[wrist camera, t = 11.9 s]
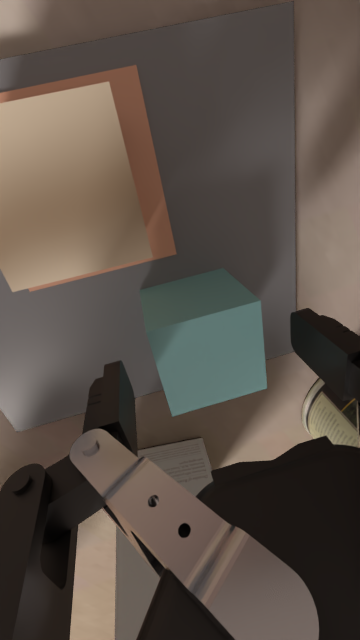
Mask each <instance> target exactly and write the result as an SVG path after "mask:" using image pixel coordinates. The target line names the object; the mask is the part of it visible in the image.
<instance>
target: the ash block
mask: <svg viewBox="0 0 360 640" xmlns="http://www.w3.org/2000/svg"><path fill="white" fill-rule="evenodd" d="M152 257H153V256H152V252H151V248H150V244H149V240H148V236H147V232H146V228H145V224H144V220H143V216H142V212H141V208H140V204H139V200H138V196H137V192H136V188H135V184H134V180H133V176H132V172H131V168H130V164H129V160H128V156H127V152H126V148H125V144H124V140H123V136H122V132H121V128H120V124H119V120H118V116H117V112H116V108H115V104H114V100H113V96H112V92H111V88H110V84H109V82H104V83H99V84H94V85H89V86H84V87H79V88H74V89H69V90H64V91H59V92H54V93H49V94H44V95H39V96H34V97H29V98H24V99H19V100H14V101H9V102H4V103H0V269H1V271H2V273H3V275H4V277H5V279H6V281H7V282H8V284H9V286H10V288H11V290H12V292H16V291H20V290H24V289H28V288H32V287H36V286H40V285H44V284H48V283H52V282H56V281H60V280H64V279H68V278H72V277H76V276H80V275H84V274H88V273H92V272H96V271H100V270H104V269H108V268H112V267H116V266H120V265H124V264H128V263H132V262H136V261H140V260H144V259H148V258H152Z"/></svg>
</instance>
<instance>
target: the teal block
mask: <svg viewBox="0 0 360 640" xmlns="http://www.w3.org/2000/svg"><path fill="white" fill-rule="evenodd" d="M139 291H140V297H141V304H142V310H143V316H144V323H145V329H146V334H147V337H148V340H149V343H150V347H151V350H152V353H153V356H154V360H155V363H156V366H157V369H158V372H159V376H160V379H161V382H162V385H163V389H164V392H165V395H166V398H167V402H168V405H169V408H170V411H171V415H172V417H173V416H176V415H180V414H183V413H187V412H190V411H193V410H197V409H200V408H203V407H207V406H210V405H213V404H217V403H220V402H223V401H227V400H230V399H234V398H237V397H240V396H244V395H247V394H250V393H254V392H257V391H260V390H264V389H267V379H266V365H265V352H264V338H263V325H262V311H261V300H260V299H258V298H257V297H256V296H255V295H254V294H253V293H251V292H250V291H249V290H248V289H247V288H246V287H244V286H243V285H242V284H241V283H240V282H239V281H238V280H236V279H235V278H234V277H233V276H232V275H231V274H229V273H228V272H227V271H226V270H225V269H224V268H221V269H217V270H214V271H210V272H206V273H202V274H198V275H195V276H191V277H187V278H183V279H179V280H176V281H172V282H168V283H164V284H160V285H157V286H153V287H149V288H145V289H141V290H139Z"/></svg>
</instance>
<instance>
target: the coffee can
mask: <svg viewBox="0 0 360 640" xmlns="http://www.w3.org/2000/svg"><path fill="white" fill-rule="evenodd" d="M302 422H303V425H304V427H305V429H306V430H307V432H308V433H309V434H310V435H311V436H312V437H313V438H314V439H316V438H319V437H322V436H327V437H328V438H329V440H330V441H331V442H332V444H340V445H349V446H354V447H358V440H357V400H356V399H355V398H352V399H349V400H345V401H342V400H341V399H340V398H339V397H338V396H337V395H336V394H335V393H334V392H333V391H332V390H331V389H330V388H329V387H328V386H327V385H326V384H325V383H324V382H323V380H322V379H321V378H320V379H319V380H318V381H317V382H316V383H315V384H314V385H313V387H312V388H311V389H310V391H309V393H308V395H307V396H306V399H305V401H304V404H303V408H302Z"/></svg>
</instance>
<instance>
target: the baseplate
mask: <svg viewBox="0 0 360 640" xmlns="http://www.w3.org/2000/svg"><path fill="white" fill-rule="evenodd" d="M104 82H109V84H110V88H111V92H112V96H113V100H114V104H115V108H116V112H117V116H118V120H119V124H120V128H121V132H122V136H123V140H124V144H125V148H126V152H127V156H128V160H129V164H130V168H131V172H132V176H133V180H134V184H135V188H136V192H137V196H138V200H139V204H140V208H141V212H142V216H143V220H144V224H145V228H146V232H147V236H148V240H149V244H150V248H151V252H152V256H153V257H152V258H148V259H144V260H140V261H136V262H132V263H128V264H124V265H120V266H116V267H112V268H108V269H104V270H100V271H96V272H92V273H88V274H84V275H80V276H76V277H72V278H68V279H64V280H60V281H56V282H52V283H48V284H44V285H40V286H36V287H32V288H28V289H24V290H20V291H16V292H12V290H11V288H10V286H9V284H8V282H7V281H6V279H5V277H4V275H3V273H2V271H1V269H0V409H1V411H2V412H3V413H4V415H5V416H6V418H7V419H8V421H9V422H10V423H11V425H12V426H13V428H14V429H15V430H16V432H20V431H23V430H27V429H30V428H34V427H37V426H40V425H44V424H47V423H51V422H54V421H58V420H61V419H65V418H68V417H71V416H75V415H78V414H82V413H85V412H86V408H87V401H88V395H89V389H90V387H91V385H92V384H93V382H94V380H95V379H97V378H100V377H103V372H104V365H105V364H109V363H112V362H116V361H119V360H121V361H122V362H123V365H124V367H125V370H126V372H127V375H128V377H129V380H130V382H131V385H132V388H133V392H134V397H135V398H137V397H140V396H144V395H147V394H151V393H154V392H157V391H161V390H164V389H163V385H162V382H161V379H160V376H159V372H158V369H157V366H156V363H155V360H154V356H153V353H152V350H151V347H150V343H149V340H148V337H147V334H146V329H145V323H144V316H143V310H142V304H141V297H140V291H139V290H141V289H145V288H149V287H153V286H157V285H160V284H164V283H168V282H172V281H176V280H179V279H183V278H187V277H191V276H195V275H198V274H202V273H206V272H210V271H214V270H217V269H221V268H224V269H225V270H226V271H227V272H228V273H229V274H231V275H232V276H233V277H234V278H235V279H236V280H238V281H239V282H240V283H241V284H242V285H243V286H244V287H246V288H247V289H248V290H249V291H250V292H251V293H253V294H254V295H255V296H256V297H257V298H258V299H260V300H261V311H262V325H263V338H264V352H265V360H268V359H271V358H275V357H278V356H281V355H285V354H288V353H292V352H295V351H294V350H293V348H292V345H291V336H290V315H291V313H292V312H295V311H296V248H295V113H294V1H292V2H287V3H282V4H277V5H272V6H267V7H262V8H256V9H251V10H246V11H241V12H236V13H231V14H226V15H221V16H216V17H211V18H206V19H201V20H196V21H191V22H186V23H181V24H176V25H171V26H166V27H161V28H156V29H150V30H145V31H140V32H135V33H130V34H125V35H120V36H115V37H110V38H105V39H100V40H95V41H90V42H85V43H80V44H75V45H70V46H65V47H60V48H55V49H50V50H45V51H39V52H34V53H29V54H24V55H19V56H14V57H9V58H4V59H0V103H4V102H9V101H14V100H19V99H24V98H29V97H34V96H39V95H44V94H49V93H54V92H59V91H64V90H69V89H74V88H79V87H84V86H89V85H94V84H99V83H104Z"/></svg>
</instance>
